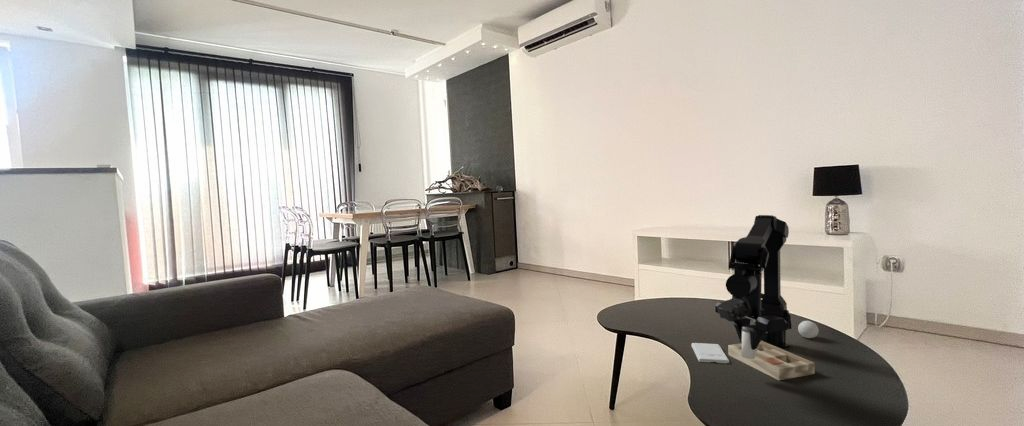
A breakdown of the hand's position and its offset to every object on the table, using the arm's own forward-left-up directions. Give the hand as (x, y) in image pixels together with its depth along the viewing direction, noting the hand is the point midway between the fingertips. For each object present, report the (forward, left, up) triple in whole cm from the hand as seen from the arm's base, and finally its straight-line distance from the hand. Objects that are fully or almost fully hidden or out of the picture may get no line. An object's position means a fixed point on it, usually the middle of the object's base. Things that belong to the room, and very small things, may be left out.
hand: (748, 347), depth 117 cm
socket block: (-12, -5, -8) cm, 16 cm away
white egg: (-41, -18, -9) cm, 46 cm away
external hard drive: (-1, -16, -9) cm, 19 cm away
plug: (0, 0, -3) cm, 3 cm away
